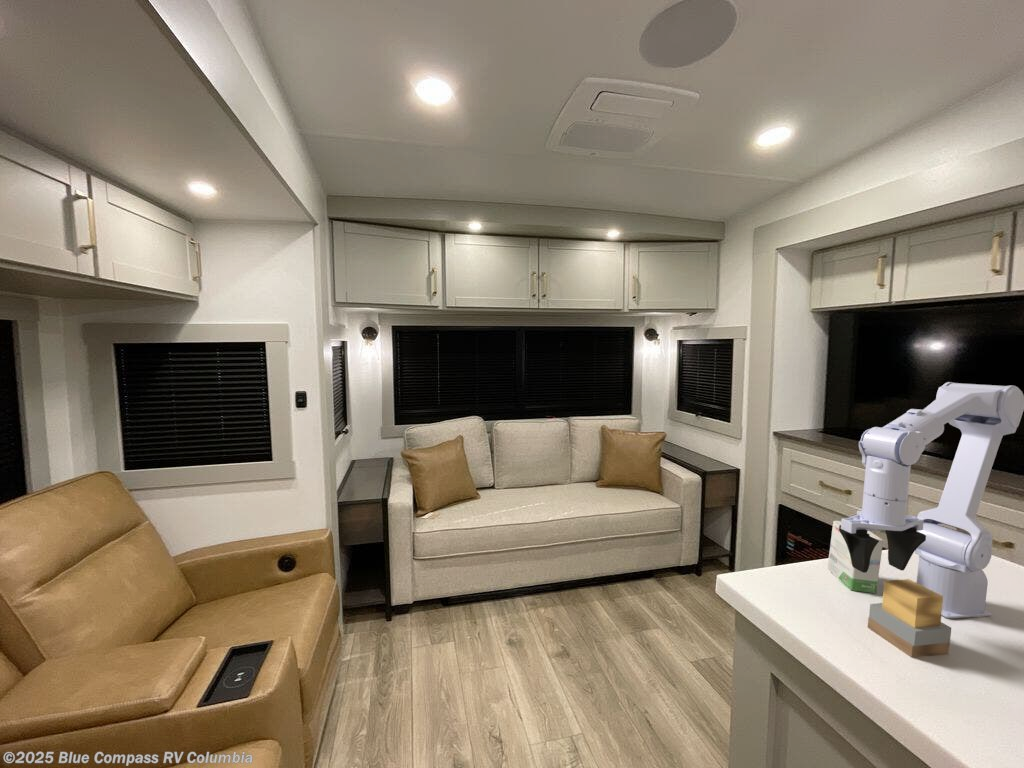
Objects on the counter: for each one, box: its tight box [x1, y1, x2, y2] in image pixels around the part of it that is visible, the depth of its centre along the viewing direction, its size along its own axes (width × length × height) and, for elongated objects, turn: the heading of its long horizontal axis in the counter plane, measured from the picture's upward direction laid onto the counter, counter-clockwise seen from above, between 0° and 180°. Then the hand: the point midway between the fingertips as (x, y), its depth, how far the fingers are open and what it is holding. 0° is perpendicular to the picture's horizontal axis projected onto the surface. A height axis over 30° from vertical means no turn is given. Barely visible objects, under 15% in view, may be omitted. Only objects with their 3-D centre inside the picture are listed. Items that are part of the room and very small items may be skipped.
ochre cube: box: [881, 578, 943, 628], centre depth 67 cm, size 5×5×5 cm
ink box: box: [827, 520, 884, 594], centre depth 85 cm, size 9×5×12 cm, turn 168°
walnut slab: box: [867, 617, 951, 658], centre depth 68 cm, size 7×7×2 cm
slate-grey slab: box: [868, 602, 952, 646], centre depth 67 cm, size 7×7×2 cm
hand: (878, 568), depth 71 cm, fingers open, 7 cm apart
